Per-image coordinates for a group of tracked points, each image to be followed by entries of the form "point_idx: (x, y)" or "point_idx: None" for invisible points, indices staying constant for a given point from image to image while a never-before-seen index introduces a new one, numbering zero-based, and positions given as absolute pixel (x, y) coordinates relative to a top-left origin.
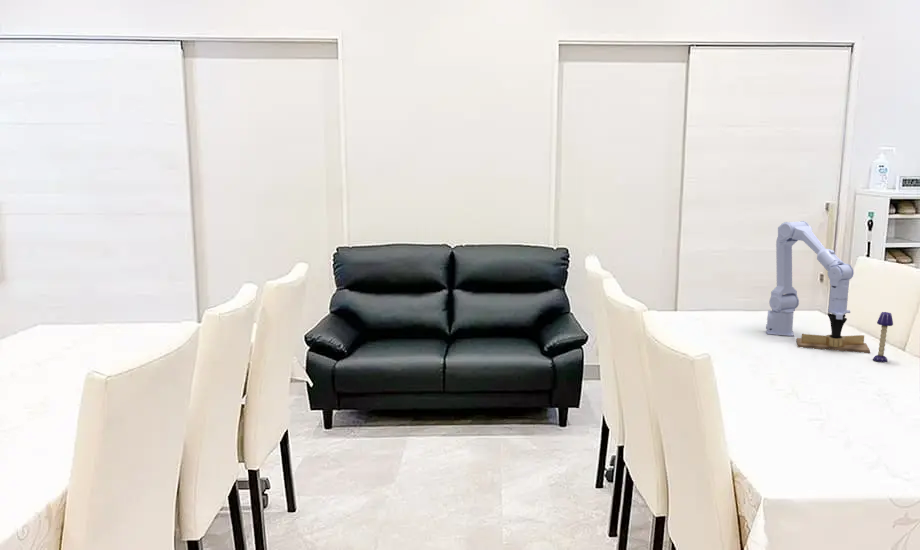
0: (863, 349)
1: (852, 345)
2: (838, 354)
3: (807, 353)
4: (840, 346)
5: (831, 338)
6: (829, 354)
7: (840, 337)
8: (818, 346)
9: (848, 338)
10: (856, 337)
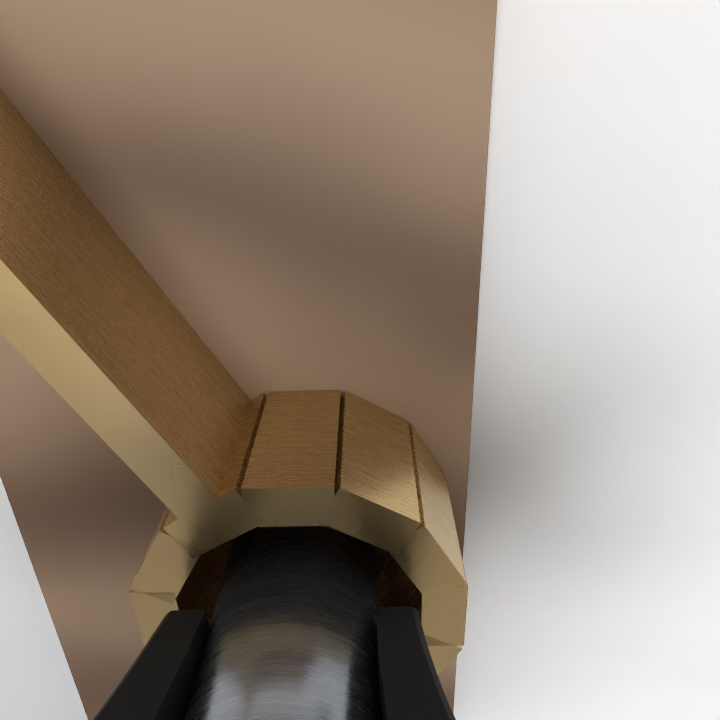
0: (454, 81)
1: (191, 261)
2: (686, 454)
3: (694, 715)
4: (428, 456)
5: (439, 664)
6: (705, 545)
7: (314, 552)
8: (454, 661)
9: (155, 391)
10: (10, 233)
